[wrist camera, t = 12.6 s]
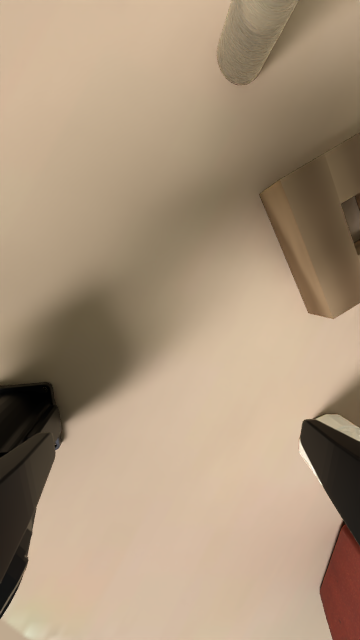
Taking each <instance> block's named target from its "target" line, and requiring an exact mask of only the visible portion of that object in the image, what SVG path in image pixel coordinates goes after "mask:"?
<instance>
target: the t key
mask: <svg viewBox="0 0 360 640" xmlns="http://www.w3.org/2000/svg"><path fill="white" fill-rule="evenodd" d="M298 1H299V0H232V1H231V4H230V8H229V11H228V14H227V17H226V21H225V24H224V27H223V31H222V34H221V37H220V40H219V44H218V48H217V60H218V64H219V67H220V70H221V72H222V73H223V75H224V76H225V77H226V79H228V80H229V81H230V82H232V83H234V84H237V85H245V84H248V83H250V82H252V81H253V80H254V79H255V78H256V77H257V75H258V74H259V72H260V70H261V68H262V67H263V65H264V63H265V61H266V59H267V57H268V56H269V54H270V52H271V50H272V48H273V47H274V45H275V43H276V41H277V39H278V37H279V36H280V34H281V32H282V30H283V28H284V26H285V25H286V23H287V21H288V19H289V17H290V16H291V14H292V12H293V10H294V8H295V6H296V5H297V3H298Z"/></svg>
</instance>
